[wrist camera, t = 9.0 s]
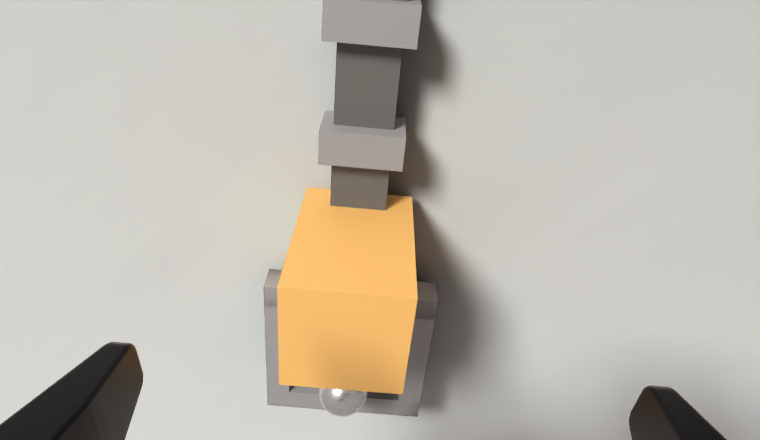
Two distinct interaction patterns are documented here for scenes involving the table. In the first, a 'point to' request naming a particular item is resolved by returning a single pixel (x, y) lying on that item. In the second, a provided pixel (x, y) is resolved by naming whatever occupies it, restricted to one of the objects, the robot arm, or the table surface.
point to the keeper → (342, 401)
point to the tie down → (355, 236)
